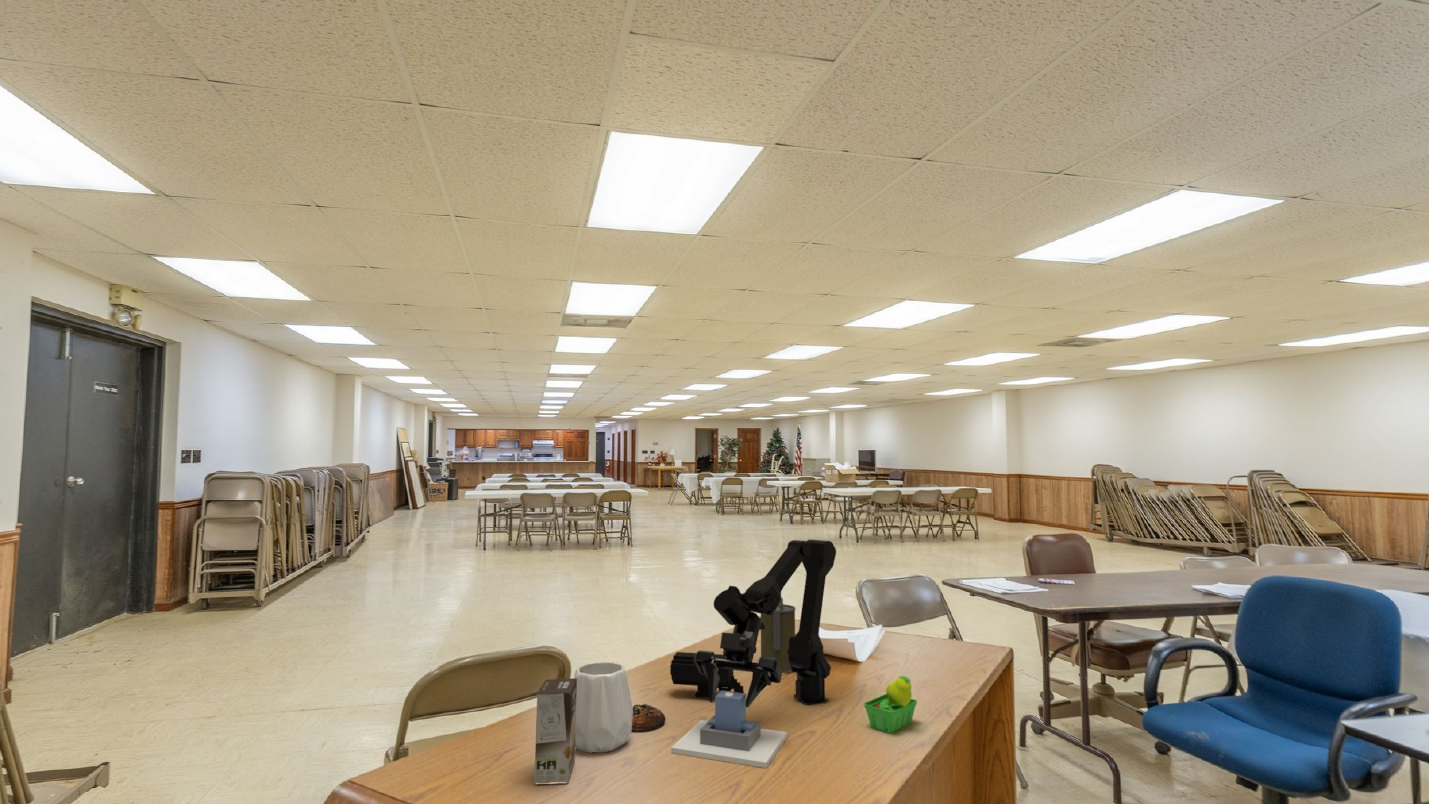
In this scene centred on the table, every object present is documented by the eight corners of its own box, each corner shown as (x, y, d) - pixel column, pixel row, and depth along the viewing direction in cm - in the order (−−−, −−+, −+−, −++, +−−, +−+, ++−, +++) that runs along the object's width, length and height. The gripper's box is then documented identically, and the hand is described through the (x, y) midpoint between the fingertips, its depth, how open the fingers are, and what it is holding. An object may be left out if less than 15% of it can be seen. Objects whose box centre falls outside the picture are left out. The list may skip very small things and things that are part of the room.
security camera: (740, 703, 162) (740, 661, 163) (668, 698, 166) (668, 657, 167) (745, 694, 169) (745, 654, 170) (675, 689, 172) (675, 650, 173)
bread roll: (665, 731, 144) (662, 708, 145) (615, 740, 143) (612, 716, 144) (666, 715, 155) (664, 693, 156) (619, 723, 154) (617, 701, 155)
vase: (602, 762, 129) (603, 682, 130) (550, 747, 136) (552, 671, 138) (646, 738, 141) (647, 664, 142) (596, 725, 148) (597, 655, 150)
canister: (761, 663, 196) (761, 594, 199) (796, 664, 195) (795, 595, 197) (758, 673, 186) (758, 601, 188) (795, 675, 184) (795, 602, 186)
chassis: (671, 752, 133) (671, 732, 134) (700, 724, 148) (700, 706, 149) (766, 768, 126) (766, 747, 127) (787, 737, 141) (786, 718, 142)
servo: (706, 740, 137) (706, 692, 138) (712, 732, 141) (713, 686, 142) (749, 746, 134) (749, 697, 135) (755, 739, 138) (755, 691, 139)
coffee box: (569, 784, 120) (571, 692, 121) (533, 785, 119) (536, 693, 121) (575, 762, 129) (577, 677, 131) (542, 763, 128) (544, 678, 130)
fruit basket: (889, 714, 155) (888, 664, 156) (924, 724, 149) (922, 672, 150) (862, 727, 147) (861, 674, 148) (898, 738, 141) (896, 683, 142)
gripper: (696, 613, 147) (676, 678, 136) (777, 619, 140) (763, 689, 129) (709, 641, 153) (691, 706, 142) (787, 648, 147) (774, 717, 135)
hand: (728, 704), depth 137 cm, fingers open, 8 cm apart
